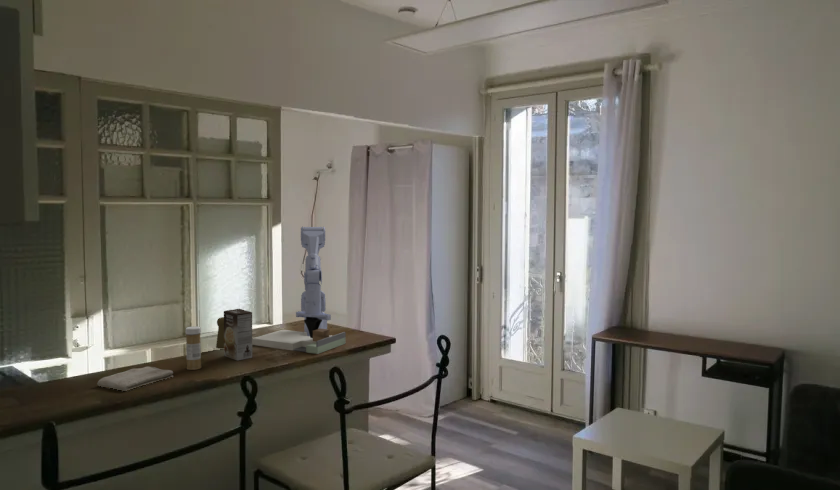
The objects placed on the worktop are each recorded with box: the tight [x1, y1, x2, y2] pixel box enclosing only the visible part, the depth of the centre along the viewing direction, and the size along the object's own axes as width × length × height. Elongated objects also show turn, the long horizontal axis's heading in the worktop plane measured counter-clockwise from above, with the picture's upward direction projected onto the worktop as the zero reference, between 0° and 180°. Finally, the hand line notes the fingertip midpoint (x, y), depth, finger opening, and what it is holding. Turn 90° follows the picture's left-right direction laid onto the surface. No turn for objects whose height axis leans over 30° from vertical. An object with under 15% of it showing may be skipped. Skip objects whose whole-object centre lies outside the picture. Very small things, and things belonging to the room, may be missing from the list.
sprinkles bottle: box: [185, 325, 202, 371], centre depth 192 cm, size 5×5×13 cm
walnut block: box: [313, 328, 330, 342], centre depth 222 cm, size 4×4×4 cm
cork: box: [215, 316, 224, 350], centre depth 222 cm, size 6×6×11 cm
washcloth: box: [96, 366, 174, 392], centre depth 178 cm, size 12×18×3 cm, turn 155°
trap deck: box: [252, 329, 347, 355], centre depth 227 cm, size 18×30×4 cm, turn 64°
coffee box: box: [223, 308, 253, 361], centre depth 207 cm, size 9×6×16 cm
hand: (313, 337), depth 224 cm, fingers closed
